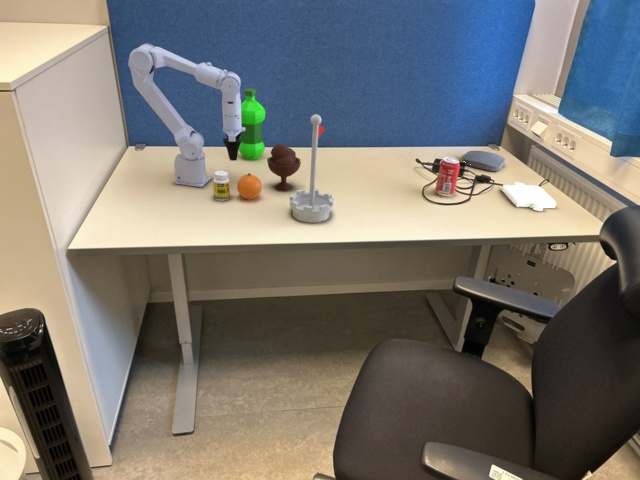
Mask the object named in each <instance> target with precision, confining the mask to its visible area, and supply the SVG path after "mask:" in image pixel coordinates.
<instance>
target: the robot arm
mask: <svg viewBox="0 0 640 480" xmlns="http://www.w3.org/2000/svg"><path fill="white" fill-rule="evenodd" d="M127 65H128V68H129V69H130V74H131V78H132V83H133V84H132V85H133V86H134V88H135V89H136V90H137V92H139V94H140V95H141V96H142V97H143V99H144V100H145V102H146V103H147V104H148V105H149V106H150V108H151V109H152V110H153V111H154V112H155V114H156V115H157V116H158V117H159V118H160V120H161V121H162V122H163V124H164V125H165V126H166V128H167V129H168V130H169V131H170V132H171V134H172V135H173V137H174V141H175V144H176V145H177V147H178V148H179V153H177V154H176V156H175V158H174V161H173V167H174V175H175V181H174V183H175V184H177V185H183V186H189V187H191V186H192V187H198V188H203V187H204V186H205V185H206V184H207V183H208V182H209V181H210V180H211V179H212V176H208V175H207V169H206V154H205V152H204V151H203V148H204V145H205V139H204V136H203V135H202V134H201V133H199V132H197V130H195V129H194V128H193V127H192V126H191V125H189V124H187V123H186V121H185V120H184V119H183V118H182V117H181V115H180V114H179V113H178V111H177V110H176V109H175V108H174V106H173V105H172V104H171V102H170V101H169V100H168V98H166V96H165V95H164V93H163V92H162V91H161V90H160V89H159V87H158V86H157V84H156V83H155V82H154V74H155V69H159V68H162V67H169V68H172V69H174V70H178V71H180V72H184V73H186V74H188V75H192V76H193V77H194V78H195V80H196V81H197V82H198V83H201V84H203V85H205V86H208V87H211V88H212V89H213V88H214V89H216V90H220V91H221V94H222V99H221V109H222V110H221V111H222V132H223V133H224V134H225V136H226V137H223V138H222V143H223V144H224V146H225V148H226V150H227V155H228V158H229V161H233V162H234V161H237V160H238V156H239V155H238V154H239V146H240V144H241V141H242V140H241V138H240V135H241V133H242V131H245V127H242V123H241V103H242V99H241V85H242V80H241V77H240V76H239V75H238V74H237V73H235V72H234V71H228V70H227V69H221V68H218V67H217V66H216V67H215V66H213V65H212V62H209V61H207V62H201V63H195V62H193V61H191V60H188V59H186V58H185V57H182V56H180V55H177V54H175V53H173V52H171V51H169V50H166V49H164V48H162V47H161V46H155V45H153V44H151V43H143V44H141V45H139V46H138V47H136V48H134V49H133V50H132V51H130V54H129V56H128V62H127Z"/></svg>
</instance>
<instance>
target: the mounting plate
mask: <svg viewBox="0 0 640 480" xmlns="http://www.w3.org/2000/svg"><path fill="white" fill-rule="evenodd" d="M501 191H502V192H503V194H504V195H505V196H507V198H508V199H509V200H510V201H511V202H512V203H513V204H514V205H515V207H517V208H531V209H533V210H534V211H537V212H542V211H544V208H547V209H548V208H549V209H555V208H556V206H557V202H556V200H554V198H552V197H551V196H550V195H549V194H548V193H547V192H546V191H545V190H544V189H543V188H542V187H540V186H538V185H537V186H536V185H525V184H524V183H522V182H515V183H514V185H513V184H512V185H511V184H510V185H509V184H503V185H502V188H501Z"/></svg>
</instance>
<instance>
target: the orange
mask: <svg viewBox="0 0 640 480" xmlns="http://www.w3.org/2000/svg"><path fill="white" fill-rule="evenodd" d="M236 189H237V192H238V194H239V195H240V196H241V197H242V198H244V199H245V200H249V201H250V200H251V201H252V200H254V199H255V198H257V197H258V196H259V195H260V194H261V193H262V192H261V191H262V190H263V184H262V182H261V180H260V179H259V177H258V176H257V175H254V174H251V173H247V174H244V175H243V176H241V177H240V178H239V179H238V181H237V184H236Z"/></svg>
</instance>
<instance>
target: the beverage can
mask: <svg viewBox="0 0 640 480" xmlns="http://www.w3.org/2000/svg"><path fill="white" fill-rule="evenodd" d="M460 169H461V164H460V160H459V159H457V158H455V157H448V156H447V157H444V158H443V159H442V161H441V162H440V164H439V168H438V174H437V179H436V185H435V191H436V193H437V194H438V195H439V196H442V197H451V196H452V195H453V194H455V191H456V186H457V181H458V179H459V173H460Z"/></svg>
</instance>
